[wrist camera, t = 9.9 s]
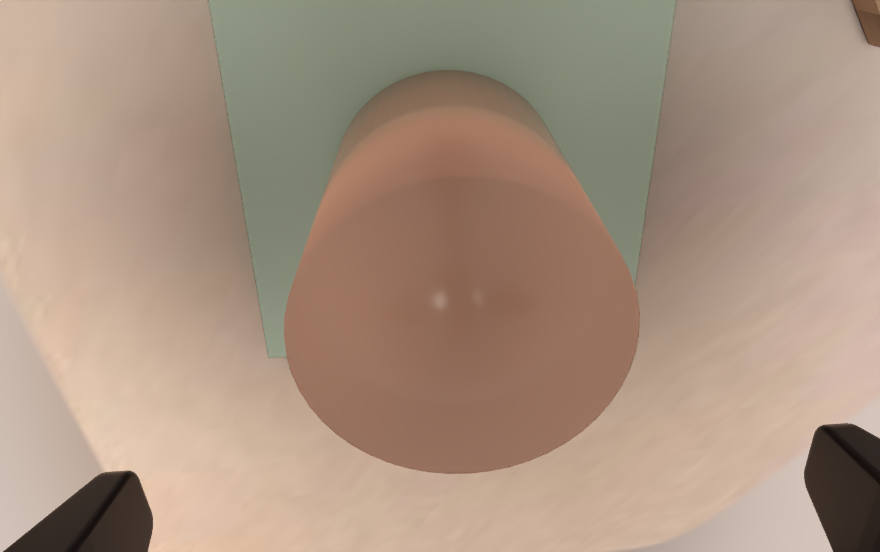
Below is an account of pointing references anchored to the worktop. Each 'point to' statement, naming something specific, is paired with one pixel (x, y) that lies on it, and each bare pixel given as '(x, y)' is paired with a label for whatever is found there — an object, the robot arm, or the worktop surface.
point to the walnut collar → (869, 19)
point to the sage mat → (423, 50)
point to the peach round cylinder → (457, 284)
